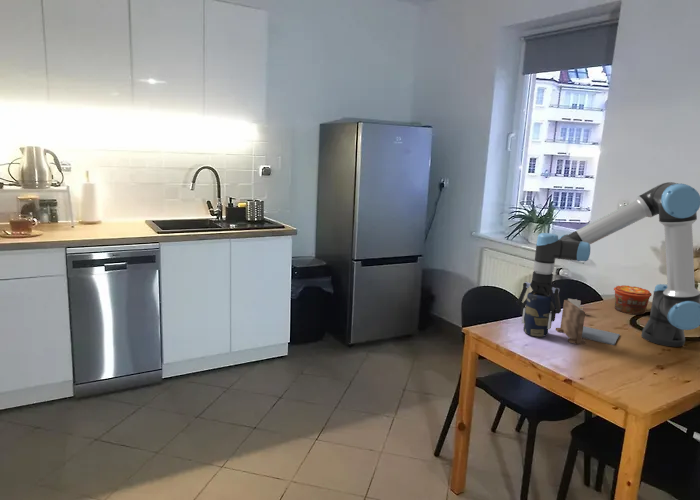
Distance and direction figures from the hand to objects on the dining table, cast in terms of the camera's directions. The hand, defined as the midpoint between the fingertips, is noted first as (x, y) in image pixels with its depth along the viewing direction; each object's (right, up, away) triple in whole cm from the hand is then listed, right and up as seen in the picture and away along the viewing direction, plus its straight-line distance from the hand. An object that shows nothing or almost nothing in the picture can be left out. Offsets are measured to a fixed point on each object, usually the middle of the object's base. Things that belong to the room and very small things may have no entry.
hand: (536, 325), depth 206 cm
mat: (+26, -5, +2) cm, 27 cm away
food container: (+60, +1, +39) cm, 71 cm away
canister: (0, -4, +1) cm, 4 cm away
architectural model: (+28, 0, +31) cm, 42 cm away
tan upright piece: (+14, -4, 0) cm, 14 cm away
